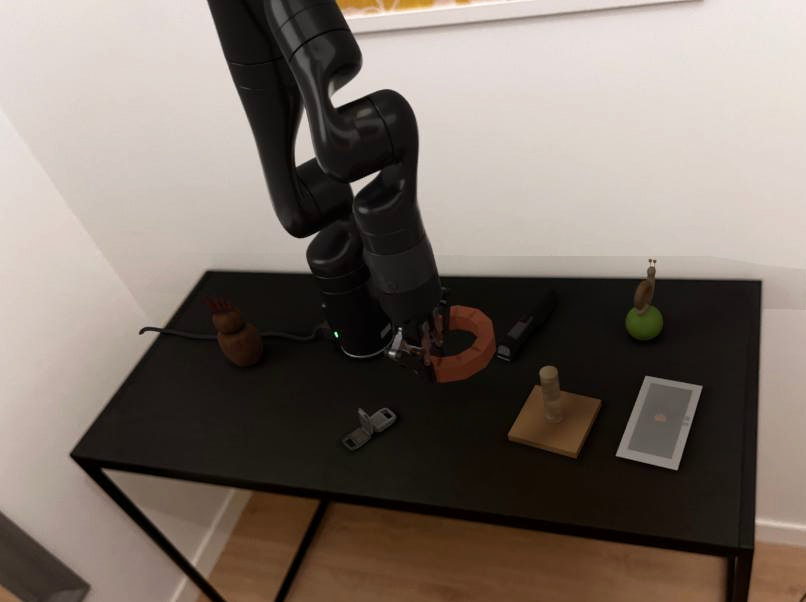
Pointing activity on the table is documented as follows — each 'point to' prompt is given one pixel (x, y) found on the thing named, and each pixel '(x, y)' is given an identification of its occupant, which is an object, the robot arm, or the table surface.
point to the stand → (555, 417)
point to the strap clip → (369, 426)
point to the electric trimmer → (525, 325)
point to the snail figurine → (645, 310)
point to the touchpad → (660, 422)
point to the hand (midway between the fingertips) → (433, 373)
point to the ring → (474, 356)
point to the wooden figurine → (235, 333)
